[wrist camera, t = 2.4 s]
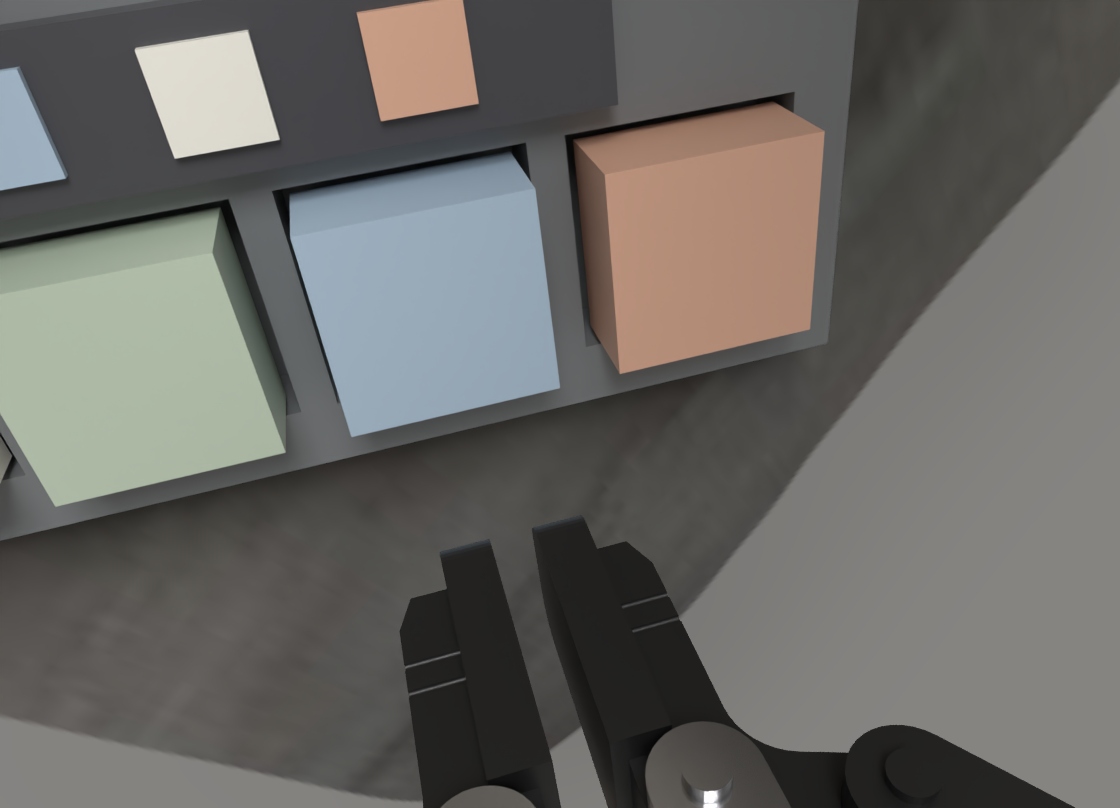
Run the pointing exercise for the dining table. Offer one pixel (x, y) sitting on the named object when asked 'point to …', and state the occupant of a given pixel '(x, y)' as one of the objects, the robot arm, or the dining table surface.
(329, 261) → the key blue
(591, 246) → the block
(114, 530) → the dining table surface
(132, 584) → the dining table surface
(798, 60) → the keypad board
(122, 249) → the key sage
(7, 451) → the key cream
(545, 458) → the dining table surface
